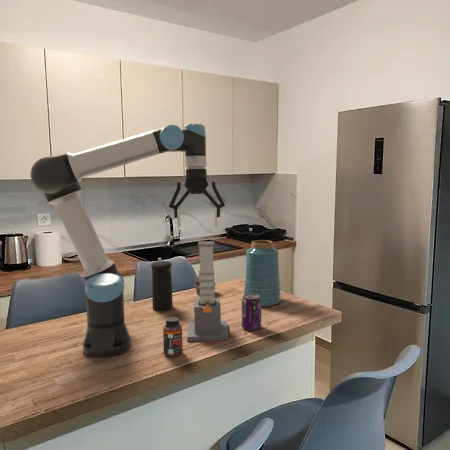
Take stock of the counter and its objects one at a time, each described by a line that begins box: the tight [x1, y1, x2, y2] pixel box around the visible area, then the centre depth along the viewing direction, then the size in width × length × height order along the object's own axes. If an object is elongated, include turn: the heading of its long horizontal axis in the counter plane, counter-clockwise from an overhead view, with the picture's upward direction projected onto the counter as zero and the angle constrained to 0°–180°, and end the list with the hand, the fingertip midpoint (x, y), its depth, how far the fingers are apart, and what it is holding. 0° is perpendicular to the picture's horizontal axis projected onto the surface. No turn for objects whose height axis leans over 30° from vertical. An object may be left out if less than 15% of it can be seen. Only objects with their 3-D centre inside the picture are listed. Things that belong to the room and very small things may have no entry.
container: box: [150, 260, 174, 312], centre depth 170 cm, size 9×9×20 cm
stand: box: [186, 298, 229, 342], centre depth 144 cm, size 14×14×12 cm
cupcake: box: [194, 274, 216, 297], centre depth 190 cm, size 10×10×10 cm
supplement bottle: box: [162, 316, 183, 358], centre depth 127 cm, size 6×6×11 cm
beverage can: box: [241, 294, 262, 331], centre depth 148 cm, size 7×7×12 cm
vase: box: [243, 239, 282, 308], centre depth 176 cm, size 16×16×27 cm
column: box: [197, 240, 216, 306], centre depth 142 cm, size 6×6×23 cm
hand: (197, 226), depth 149 cm, fingers open, 13 cm apart
